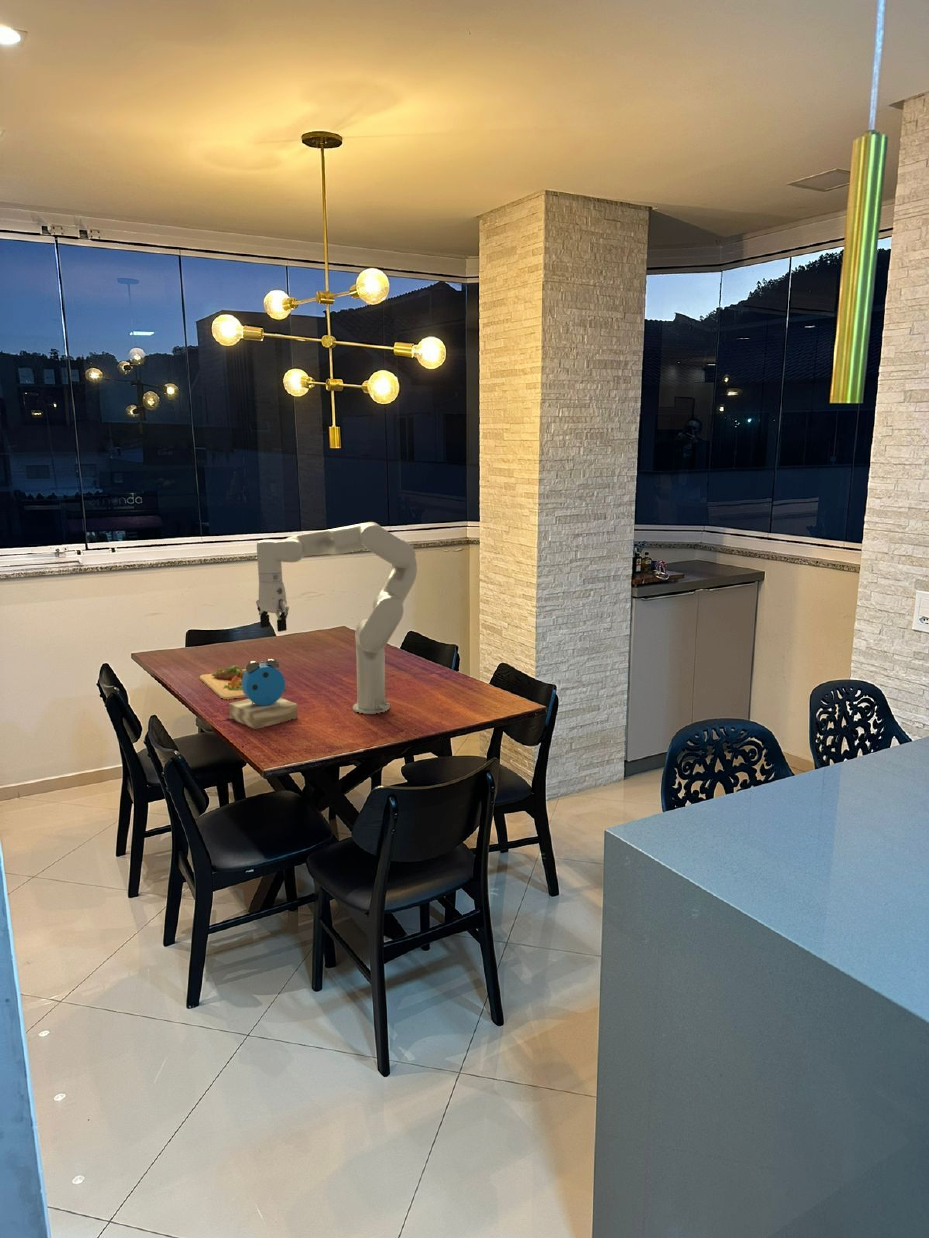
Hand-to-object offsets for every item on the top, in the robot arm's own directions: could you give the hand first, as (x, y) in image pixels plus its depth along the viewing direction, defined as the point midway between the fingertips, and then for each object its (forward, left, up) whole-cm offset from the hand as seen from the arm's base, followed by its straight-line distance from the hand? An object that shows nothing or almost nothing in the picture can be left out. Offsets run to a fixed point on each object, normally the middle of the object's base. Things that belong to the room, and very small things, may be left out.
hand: (273, 628), depth 282 cm
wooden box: (-1, +5, -29) cm, 30 cm away
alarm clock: (-1, +5, -25) cm, 25 cm away
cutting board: (+41, -11, -30) cm, 52 cm away
